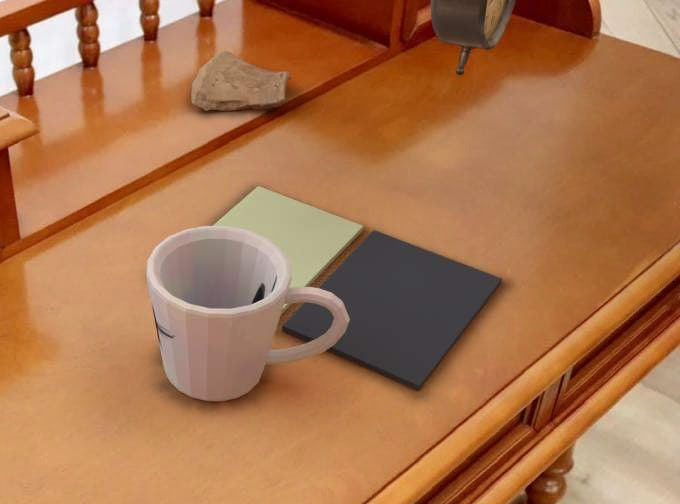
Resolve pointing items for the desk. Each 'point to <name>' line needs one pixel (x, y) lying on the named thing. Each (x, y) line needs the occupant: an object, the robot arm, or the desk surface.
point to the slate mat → (397, 308)
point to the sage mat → (294, 232)
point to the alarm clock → (470, 24)
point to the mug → (227, 309)
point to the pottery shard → (237, 85)
